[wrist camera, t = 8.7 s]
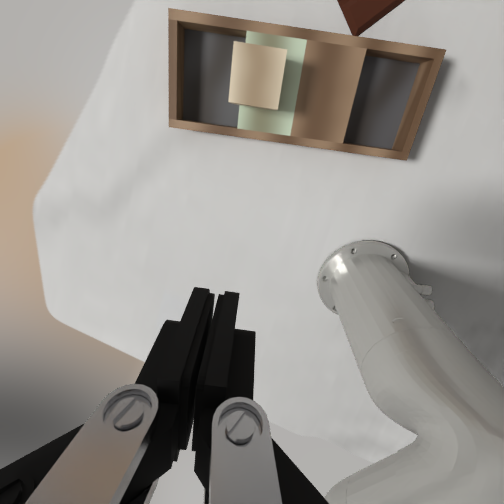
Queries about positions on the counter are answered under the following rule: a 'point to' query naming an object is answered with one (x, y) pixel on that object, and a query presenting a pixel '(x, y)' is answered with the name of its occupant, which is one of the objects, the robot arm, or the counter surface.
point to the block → (256, 75)
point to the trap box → (302, 85)
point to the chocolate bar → (365, 12)
